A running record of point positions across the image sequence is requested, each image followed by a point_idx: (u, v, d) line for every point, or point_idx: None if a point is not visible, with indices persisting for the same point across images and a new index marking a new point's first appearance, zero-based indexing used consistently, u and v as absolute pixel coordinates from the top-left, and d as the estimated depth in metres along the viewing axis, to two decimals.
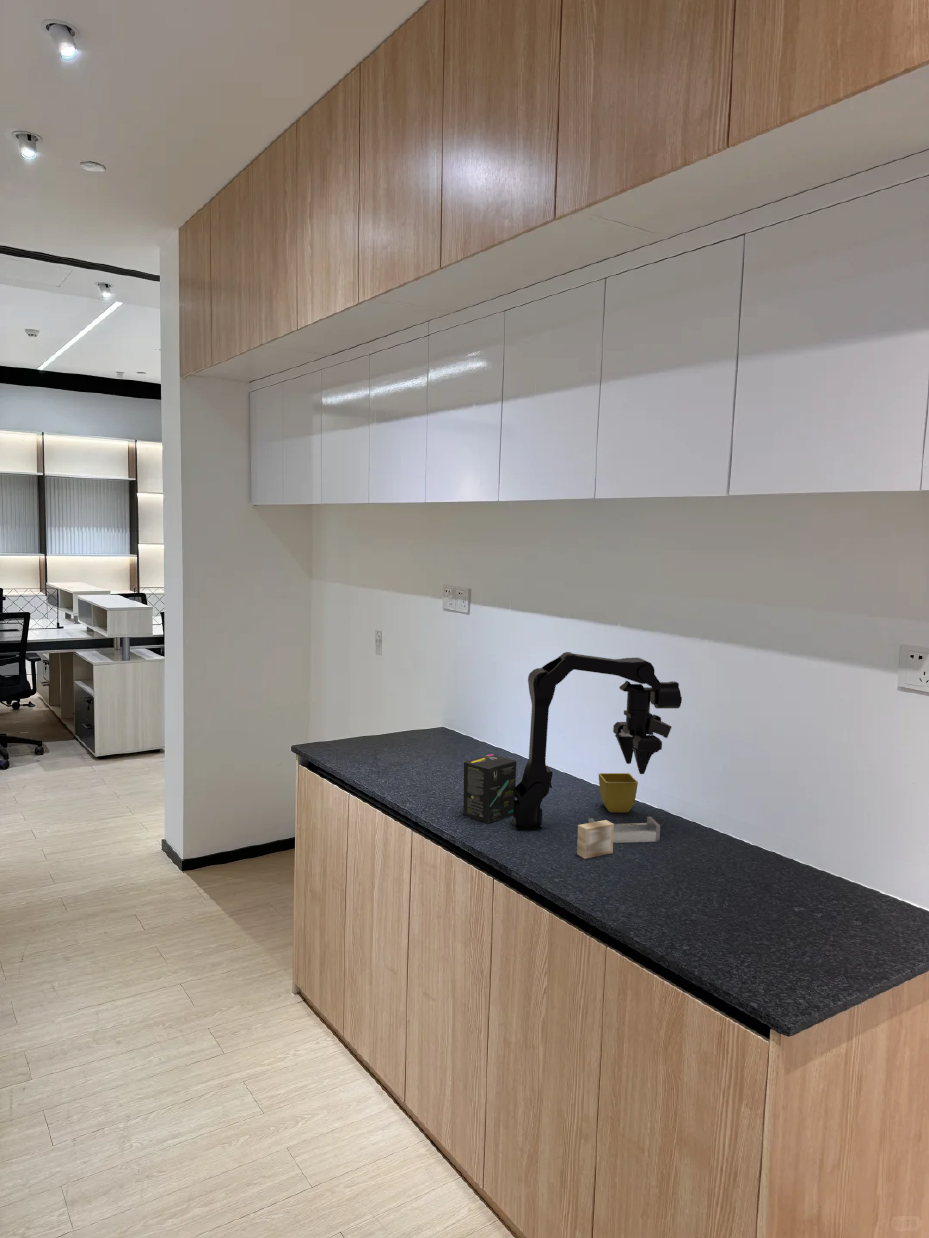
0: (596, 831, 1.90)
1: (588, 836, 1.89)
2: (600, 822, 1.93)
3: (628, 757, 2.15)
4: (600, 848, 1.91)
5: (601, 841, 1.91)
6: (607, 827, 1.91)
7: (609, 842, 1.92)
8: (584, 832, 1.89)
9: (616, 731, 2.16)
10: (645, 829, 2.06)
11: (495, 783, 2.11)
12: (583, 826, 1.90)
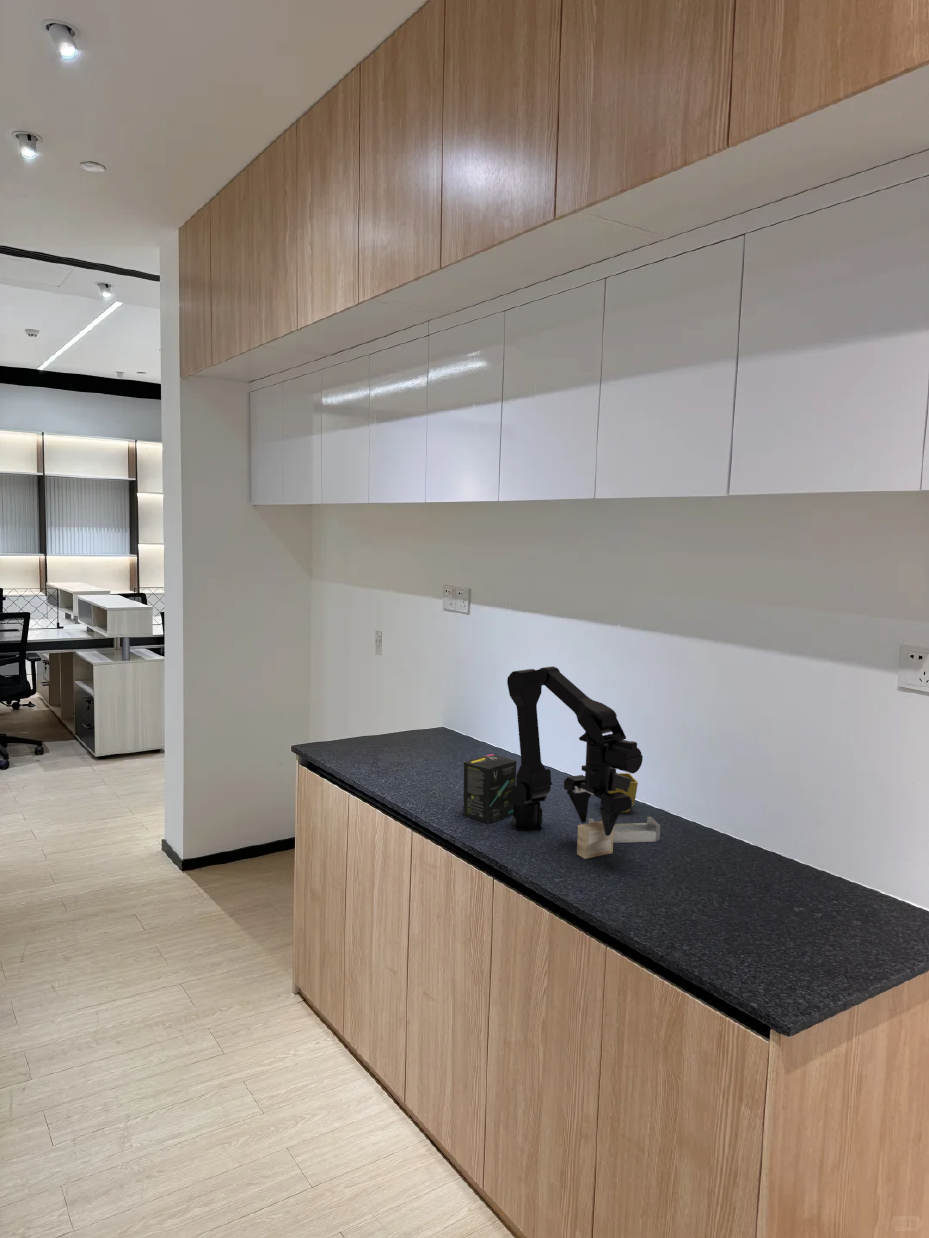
0: (596, 831, 1.90)
1: (588, 836, 1.89)
2: (599, 822, 1.93)
3: (583, 815, 1.95)
4: (600, 848, 1.91)
5: (601, 841, 1.91)
6: None
7: (609, 842, 1.92)
8: (584, 832, 1.89)
9: (569, 788, 1.95)
10: (645, 829, 2.06)
11: (495, 783, 2.11)
12: (583, 826, 1.90)
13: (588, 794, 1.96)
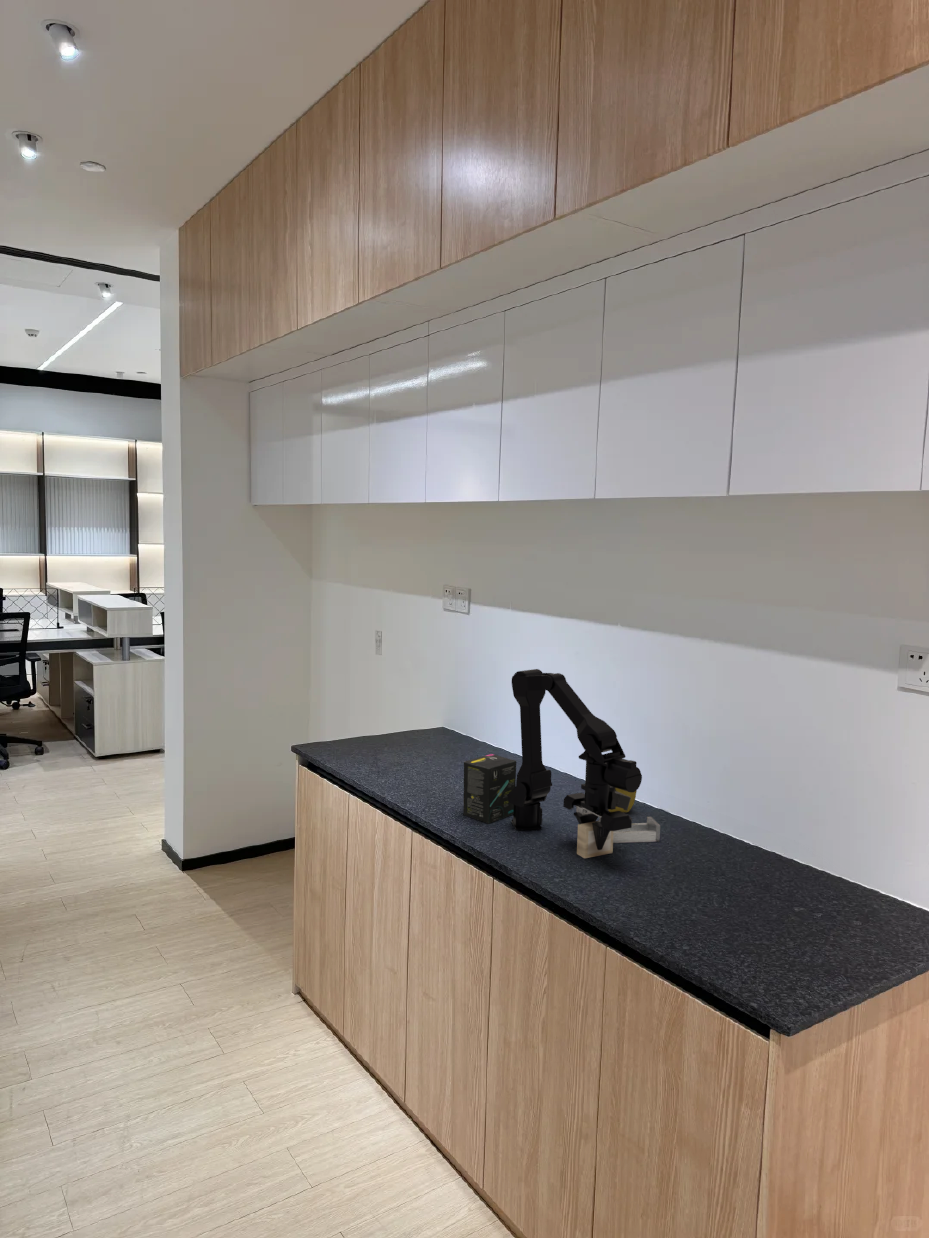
0: None
1: (588, 836, 1.89)
2: None
3: None
4: None
5: None
6: None
7: (609, 842, 1.92)
8: (584, 832, 1.89)
9: (569, 806, 1.95)
10: (645, 829, 2.06)
11: (495, 783, 2.11)
12: (583, 826, 1.90)
13: (595, 816, 1.94)
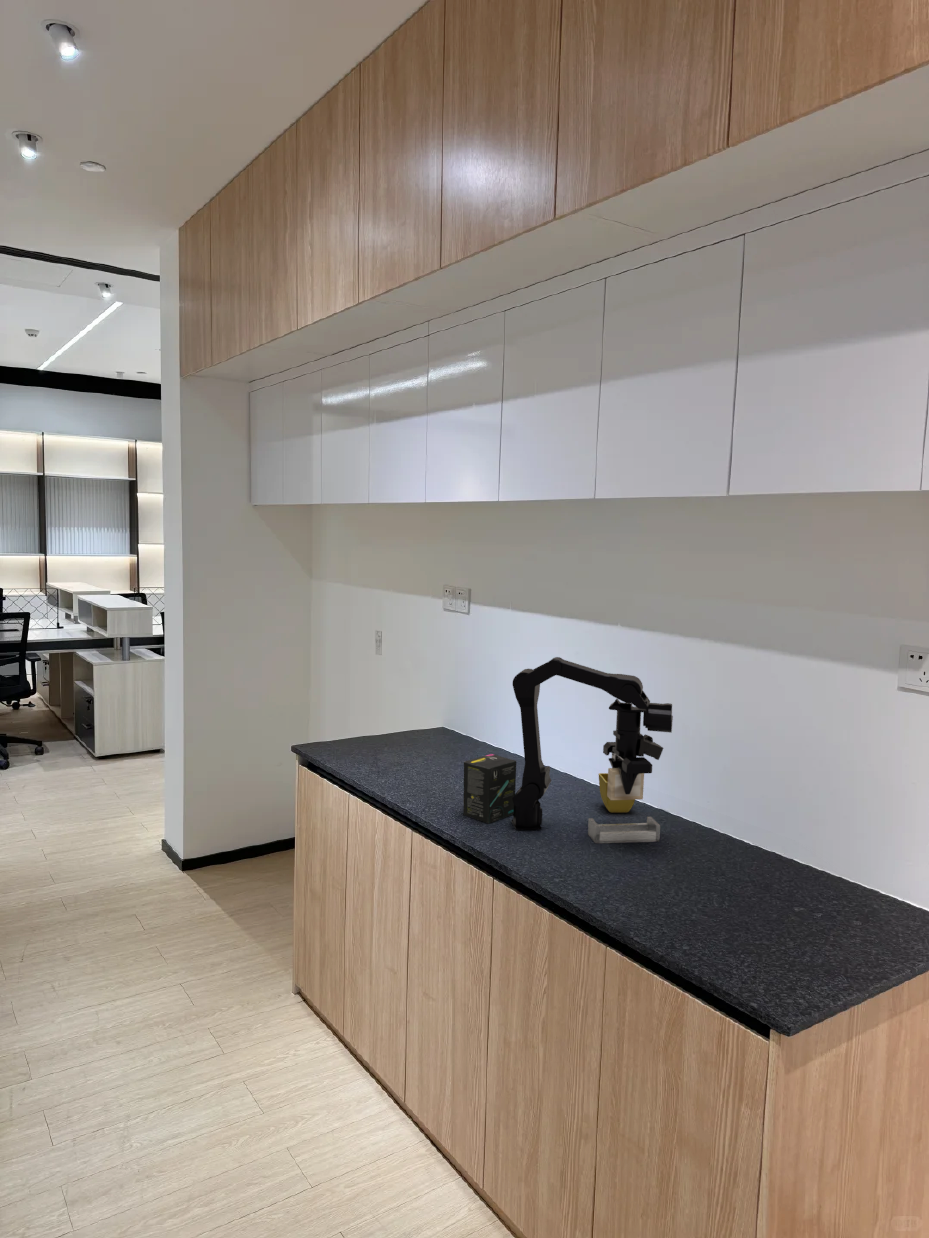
0: None
1: (615, 779, 1.99)
2: None
3: None
4: None
5: None
6: None
7: (638, 788, 2.00)
8: (611, 775, 1.99)
9: (606, 752, 2.06)
10: (645, 829, 2.06)
11: (495, 783, 2.11)
12: (612, 769, 2.01)
13: None
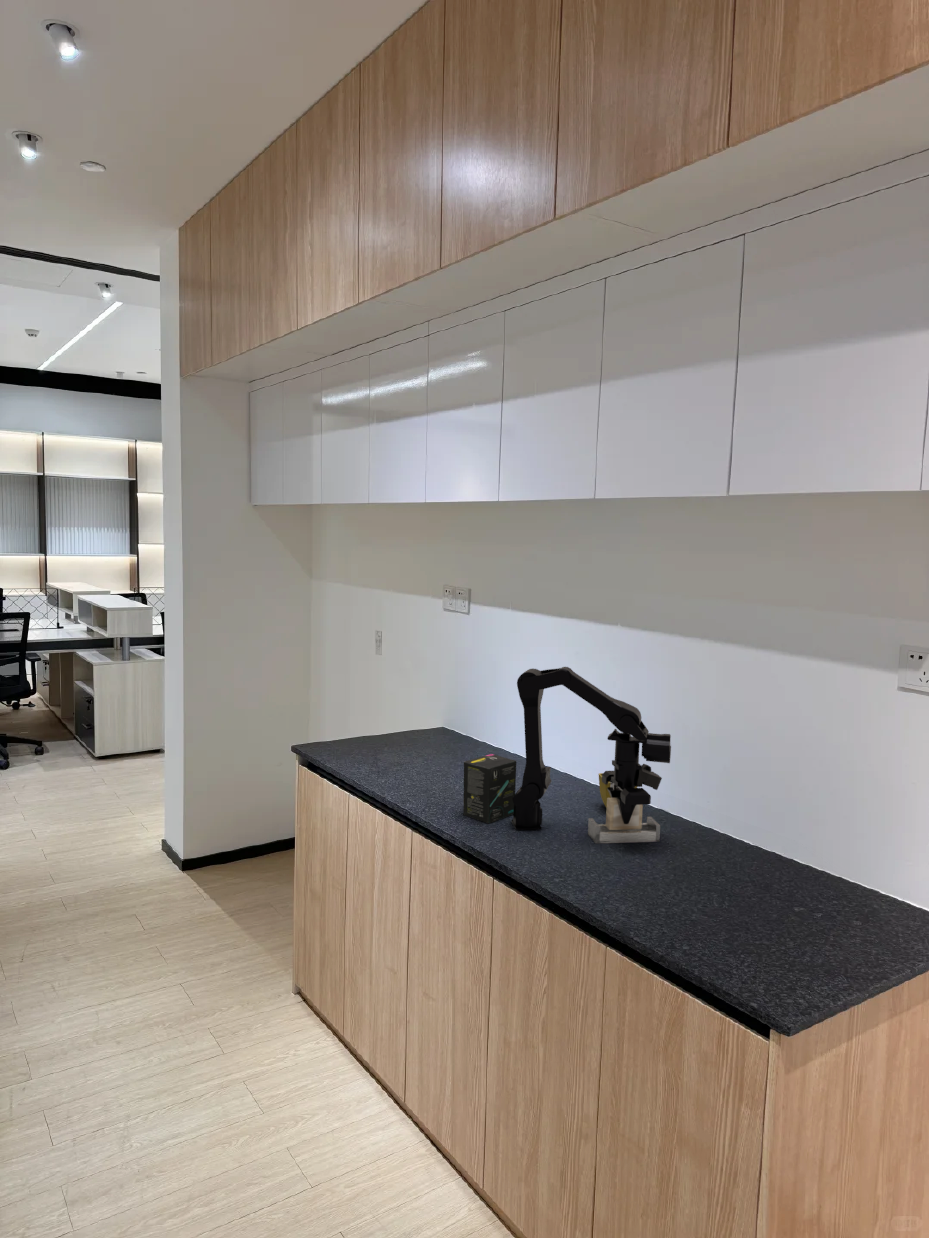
0: None
1: (613, 809, 2.00)
2: None
3: None
4: None
5: None
6: None
7: (637, 818, 2.01)
8: (610, 804, 2.00)
9: (604, 781, 2.07)
10: (645, 829, 2.06)
11: (495, 783, 2.11)
12: (610, 799, 2.01)
13: None
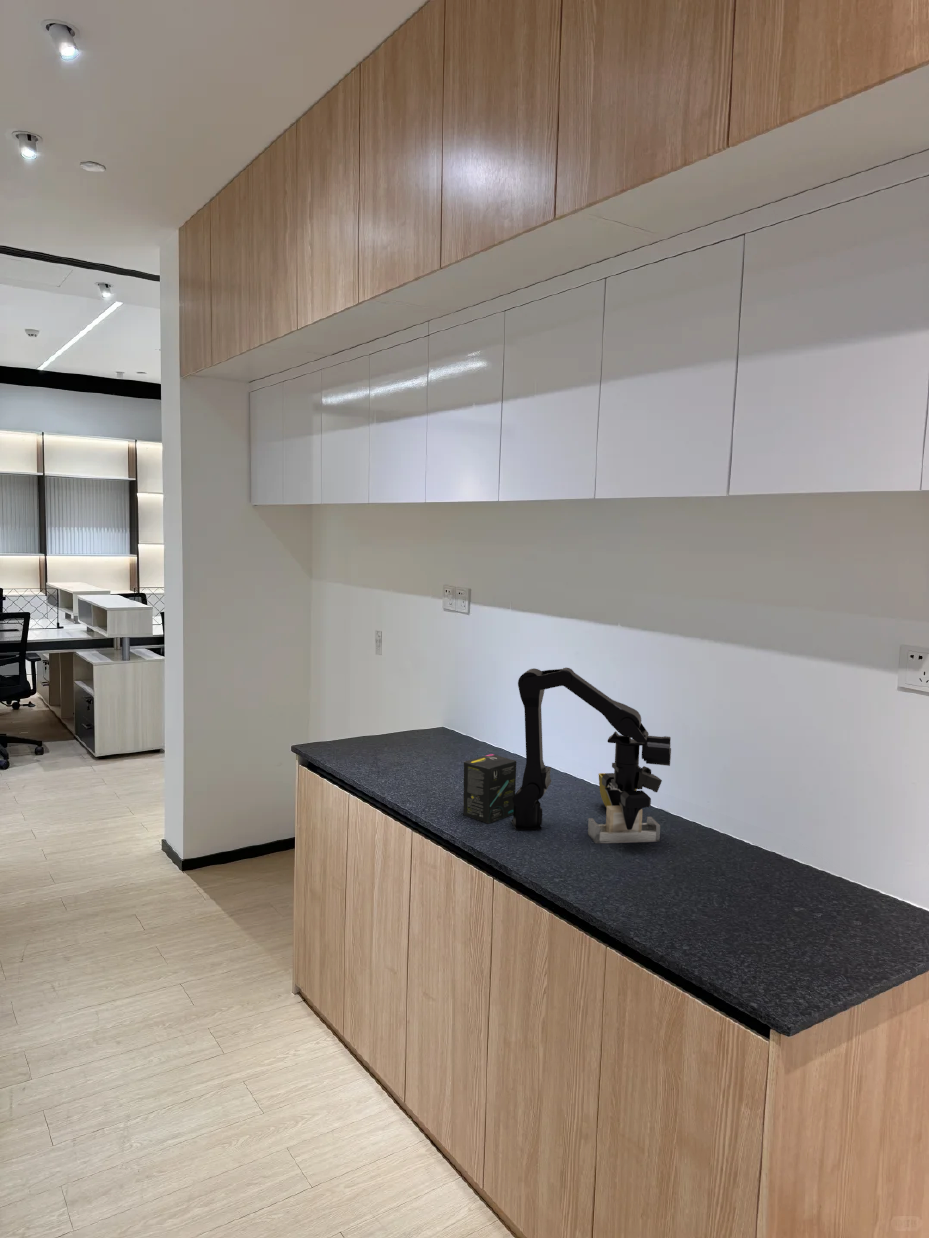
0: None
1: (613, 817, 2.00)
2: None
3: None
4: (627, 830, 2.01)
5: None
6: None
7: (637, 826, 2.01)
8: (609, 812, 2.00)
9: (604, 783, 2.07)
10: (645, 829, 2.06)
11: (495, 783, 2.11)
12: (610, 807, 2.02)
13: None
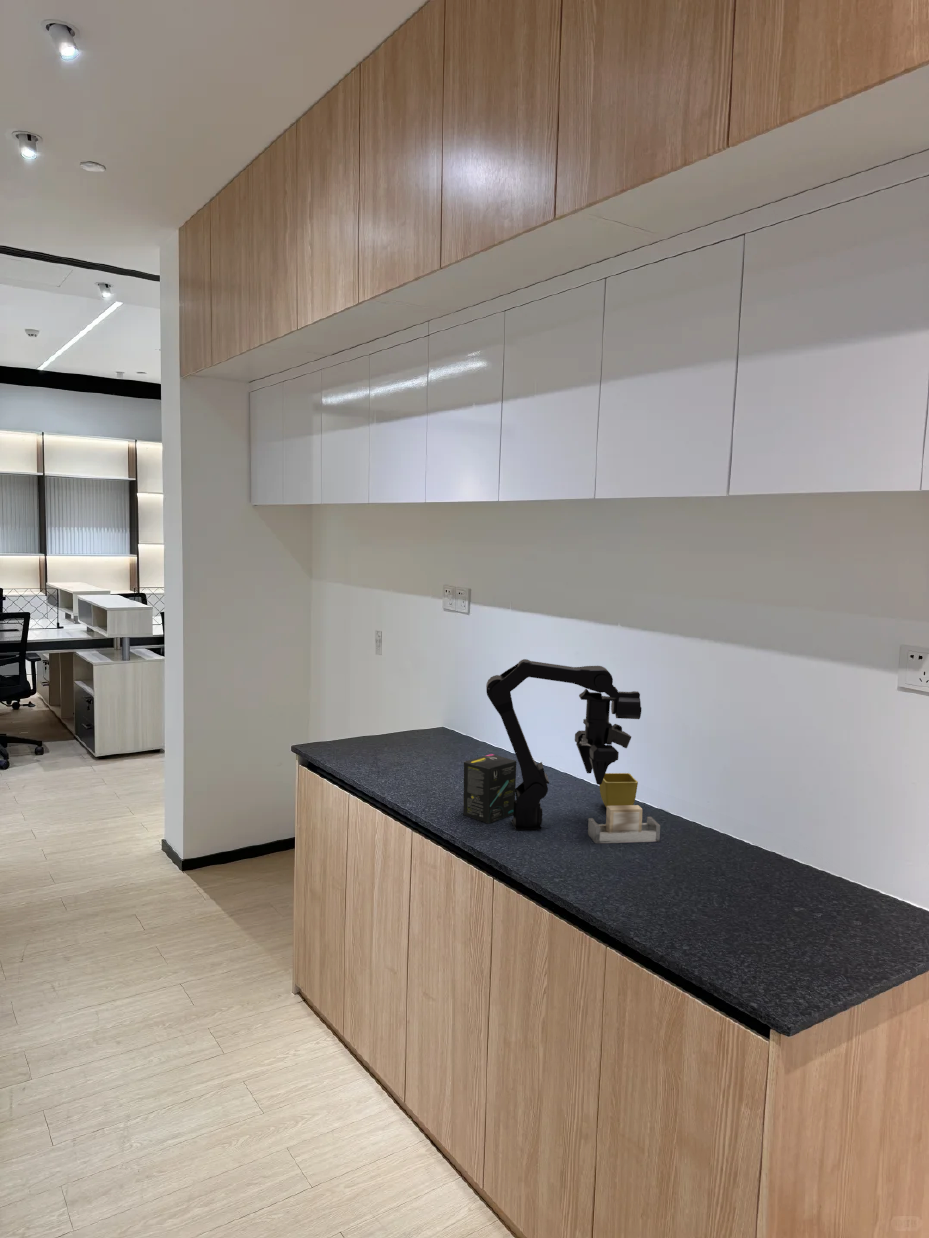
0: (622, 813, 2.00)
1: (613, 817, 2.00)
2: (630, 806, 2.03)
3: (588, 766, 2.12)
4: (627, 830, 2.01)
5: (627, 823, 2.01)
6: (635, 811, 2.01)
7: (637, 826, 2.01)
8: (609, 812, 2.00)
9: (577, 740, 2.13)
10: (645, 829, 2.06)
11: (495, 783, 2.11)
12: (610, 807, 2.02)
13: None
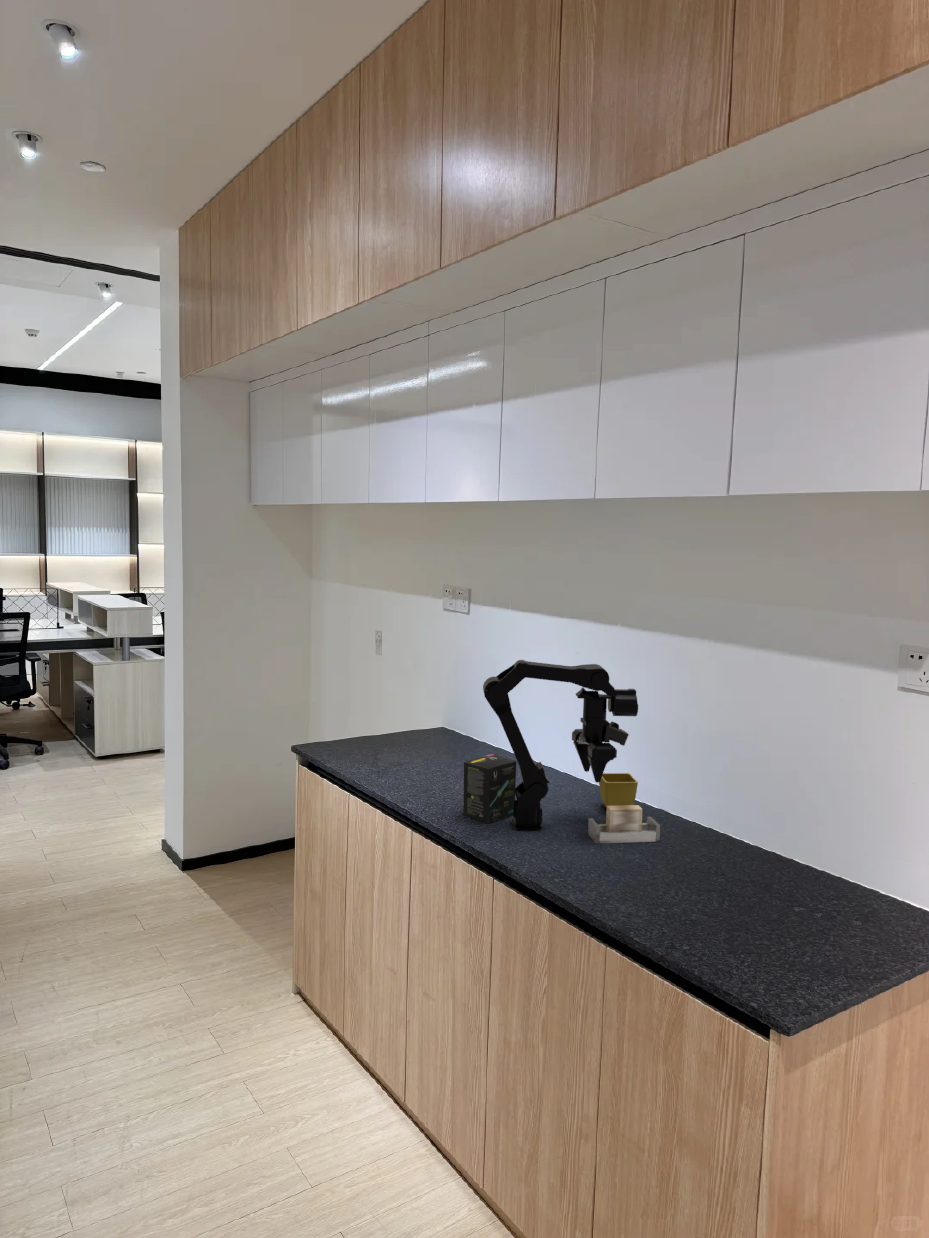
0: (622, 813, 2.00)
1: (613, 817, 2.00)
2: (630, 806, 2.03)
3: (586, 765, 2.12)
4: (627, 830, 2.01)
5: (627, 823, 2.01)
6: (635, 811, 2.01)
7: (637, 826, 2.01)
8: (609, 812, 2.00)
9: (574, 738, 2.13)
10: (645, 829, 2.06)
11: (495, 783, 2.11)
12: (610, 807, 2.02)
13: None
